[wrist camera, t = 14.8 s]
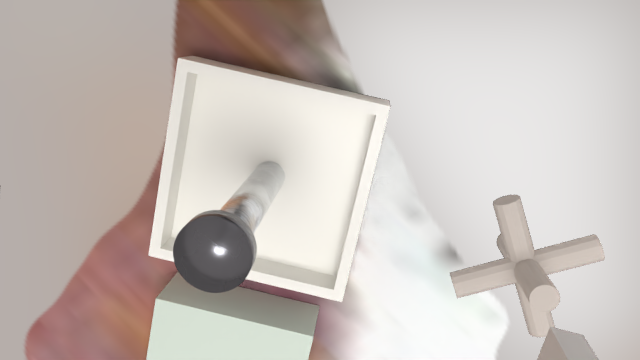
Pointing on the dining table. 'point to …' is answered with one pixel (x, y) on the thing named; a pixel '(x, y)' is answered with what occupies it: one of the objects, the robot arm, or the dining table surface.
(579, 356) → the robot arm
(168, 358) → the block
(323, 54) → the dining table surface
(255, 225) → the steel pin
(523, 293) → the pipe connector
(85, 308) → the dining table surface
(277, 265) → the tray
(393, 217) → the dining table surface
